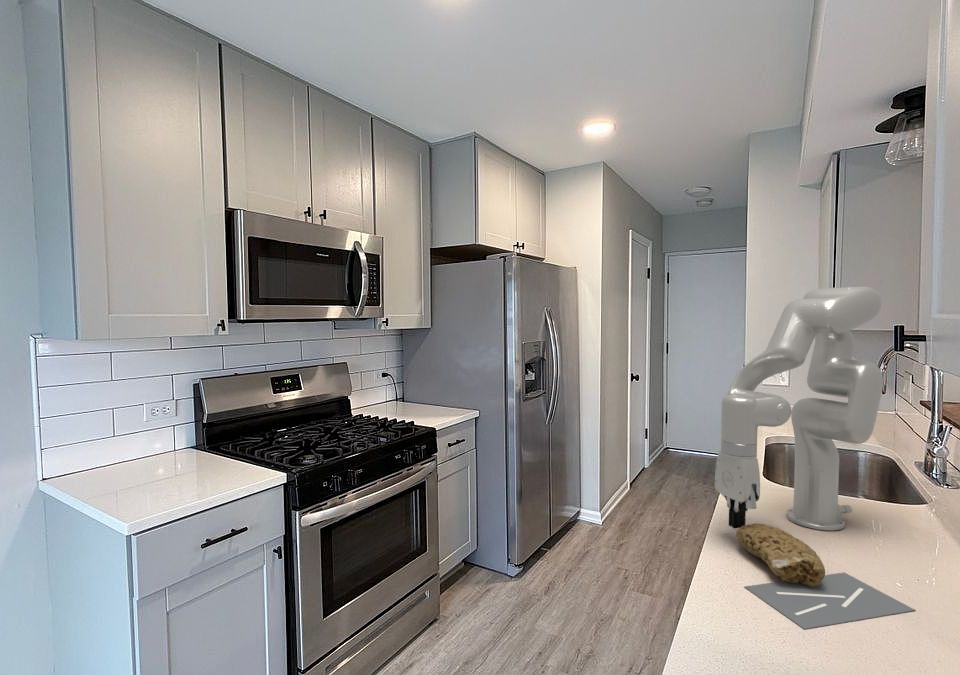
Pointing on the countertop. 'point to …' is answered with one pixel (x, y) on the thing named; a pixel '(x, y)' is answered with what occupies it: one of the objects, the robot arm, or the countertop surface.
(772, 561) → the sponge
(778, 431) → the countertop surface
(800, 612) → the mat
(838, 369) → the robot arm
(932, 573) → the countertop surface
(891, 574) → the countertop surface
